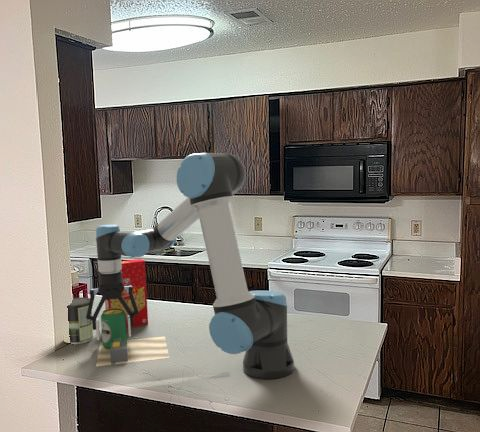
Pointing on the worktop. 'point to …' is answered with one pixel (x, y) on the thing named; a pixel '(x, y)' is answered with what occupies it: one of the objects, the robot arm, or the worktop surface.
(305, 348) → the worktop surface
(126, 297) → the food packaging
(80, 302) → the coffee can
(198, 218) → the robot arm
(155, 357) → the beige flat sheet
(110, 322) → the beverage can
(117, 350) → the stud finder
